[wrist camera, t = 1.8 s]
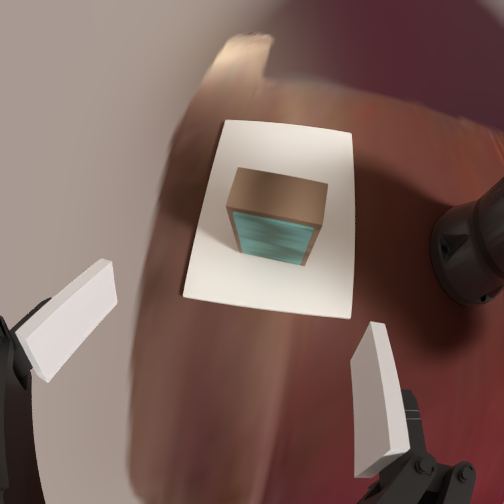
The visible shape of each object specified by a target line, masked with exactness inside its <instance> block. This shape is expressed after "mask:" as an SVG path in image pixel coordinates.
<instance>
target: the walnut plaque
mask: <svg viewBox="0 0 504 504" xmlns="http://www.w3.org/2000/svg"><path fill="white" fill-rule="evenodd" d="M327 190H328V184H327V183H322V182H318V181H313V180H308V179H303V178H298V177H293V176H288V175H282V174H277V173H271V172H266V171H260V170H254V169H247V168H241V167H238V168H237V171H236V174H235V177H234V181H233V184H232V187H231V190H230V193H229V196H228V200H227V203H226V209H227V213H228V216H229V220H230V223H231V226H232V230H233V233H234V237H235V240H236V243H237V247H238V250H239V253H244V254H248V255H253V256H258V257H263V258H267V259H272V260H277V261H282V262H286V263H291V264H296V265H301V266H305V264H306V262H307V260H308V257H309V255H310V253H311V251H312V248H313V246H314V244H315V242H316V239H317V237H318V235H319V232H320V230H321V228H322V225H323V219H324V212H325V205H326V198H327Z"/></svg>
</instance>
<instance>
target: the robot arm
mask: <svg viewBox="0 0 504 504" xmlns="http://www.w3.org/2000/svg"><path fill="white" fill-rule="evenodd" d="M430 253H431V260H432V264H433V268H434V271H435V274H436V276H437V278H438V280H439V282H440V284H441V286H442V287H443V289H444V290H445V291H446V293H447V294H448V295H449V296H450V297H451V298H452V299H453V300H455V301H456V302H458V303H459V304H461V305H464V306H468V307H475V306H479V305H482V304H485V303H488V302H490V301H491V300H493V299H494V298H495V297H496V296H497V295H498V294H499V293H500V292H501V291H502V290H503V289H504V177H503V178H502V179H501V180H500V181H499V182H498V183H497V184H495V185H494V186H493V187H492V188H491V189H490V190H489V191H488V192H486V193H485V194H484V195H483V196H482V197H481V198H480V199H479V200H477V201H473V202H469V203H465V204H461V205H458V206H455V207H452V208H451V209H449V210H448V211H446V212H445V213H444V214H443V215H442V216H441V217H440V218H439V219H438V220H437V222H436V223H435V225H434V227H433V230H432V234H431V240H430ZM117 303H118V302H117V295H116V289H115V282H114V274H113V266H112V261H109V260H105V259H102V258H101V259H100V260H98V261H97V262H96V263H95V264H93V265H92V266H91V267H89V268H88V269H87V270H86V271H84V272H83V273H82V274H81V275H79V276H78V277H77V278H76V279H75V280H73V281H72V282H71V283H70V284H68V285H67V286H66V287H65V288H64V289H63V290H61V291H60V292H59V293H58V294H57V295H55V296H54V297H53V298H48V299H46V300H44V301H42V302H41V303H39V304H38V305H37V306H36V307H35V309H33V310H31V311H30V312H29V314H27V315H26V316H25V317H24V318H23V319H22V320H21V321H19V322H18V323H17V324H16V325H15V326H14V327H13V328H12V329H11V330H10V331H9V329H8V328H7V325H6V323H5V320H4V319H3V317H2V316H0V504H45V500H44V496H43V491H42V488H41V482H40V477H39V471H38V466H37V459H36V452H35V444H34V434H33V421H32V400H31V398H32V395H31V383H32V381H31V380H32V376H31V372H30V370H31V369H32V368H33V369H34V370H35V372H36V374H37V376H39V377H40V378H42V379H43V380H44V381H46V382H49V381H50V380H51V379H52V378H53V376H54V375H55V374H56V373H57V371H58V370H59V369H60V368H61V367H62V365H63V364H64V363H65V362H66V361H67V360H68V358H69V357H70V356H71V355H72V354H73V352H74V351H75V350H76V349H77V348H78V347H79V345H80V344H81V343H82V342H83V341H84V340H85V339H86V338H87V336H88V335H89V334H90V333H91V332H92V331H93V330H94V328H95V327H96V326H97V325H98V324H99V323H100V322H101V321H102V319H104V317H105V316H106V315H107V314H108V313H109V312H110V311H111V310H112V309H113V308H114V306H116V304H117ZM350 362H351V374H352V388H353V406H354V433H355V477H354V478H368V477H373V476H375V475H376V474H378V473H379V478H380V479H379V480H378V481H376V482H375V483H373V484H372V485H370V486H369V487H368V489H370V488H371V489H370V490H369V491H368V492H367V493H366V494H365V495H364V496H363V498H362V499H361V500H360V501H359V502H358V503H357V504H470V500H471V496H472V492H473V488H474V484H475V479H476V472H475V468H474V467H473V465H472V464H470V463H469V462H465V461H462V462H460V463H458V464H456V465H455V466H454V467H452V466H448V465H443V464H439V463H437V462H436V460H435V458H434V457H433V456H432V455H431V454H429V453H427V451H426V446H425V440H424V434H423V429H422V423H421V420H420V413H419V412H418V410H419V409H418V404H417V400H416V398H415V396H414V395H413V393H412V392H411V390H403V389H400V385H399V380H398V376H397V371H396V367H395V363H394V358H393V354H392V350H391V346H390V342H389V338H388V335H387V331H386V327H385V324H383V323H377V322H371V321H370V323H369V325H368V327H367V329H366V332H365V334H364V336H363V338H362V340H361V342H360V344H359V346H358V348H357V349H356V351H355V353H354V355H353V357H352V359H351V361H350Z"/></svg>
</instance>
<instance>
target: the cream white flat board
mask: <svg viewBox="0 0 504 504" xmlns="http://www.w3.org/2000/svg"><path fill="white" fill-rule="evenodd" d="M238 167H241V168H247V169H254V170H260V171H266V172H271V173H277V174H282V175H288V176H293V177H298V178H303V179H308V180H313V181H318V182H322V183H327V184H328V190H327V198H326V205H325V212H324V219H323V225H322V228H321V230H320V232H319V235H318V237H317V239H316V242H315V244H314V246H313V248H312V251H311V253H310V255H309V257H308V260H307V262H306V264H305V266H301V265H296V264H291V263H286V262H282V261H277V260H272V259H267V258H263V257H258V256H253V255H248V254H244V253H239V250H238V247H237V243H236V240H235V237H234V233H233V230H232V226H231V223H230V220H229V216H228V213H227V209H226V203H227V200H228V196H229V193H230V190H231V187H232V184H233V181H234V177H235V174H236V171H237V168H238ZM354 256H355V187H354V163H353V147H352V134H351V133H347V132H341V131H335V130H329V129H322V128H315V127H308V126H300V125H291V124H281V123H270V122H257V121H241V120H226V121H225V124H224V127H223V131H222V134H221V138H220V141H219V145H218V148H217V152H216V156H215V159H214V163H213V167H212V170H211V174H210V178H209V182H208V186H207V190H206V194H205V198H204V202H203V206H202V210H201V214H200V218H199V222H198V227H197V231H196V235H195V240H194V244H193V249H192V253H191V258H190V263H189V267H188V272H187V277H186V282H185V287H184V292H183V297H185V298H190V299H196V300H202V301H208V302H215V303H221V304H228V305H234V306H241V307H248V308H255V309H263V310H270V311H278V312H286V313H295V314H304V315H313V316H322V317H333V318H343V319H350V318H351V309H352V295H353V279H354Z"/></svg>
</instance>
